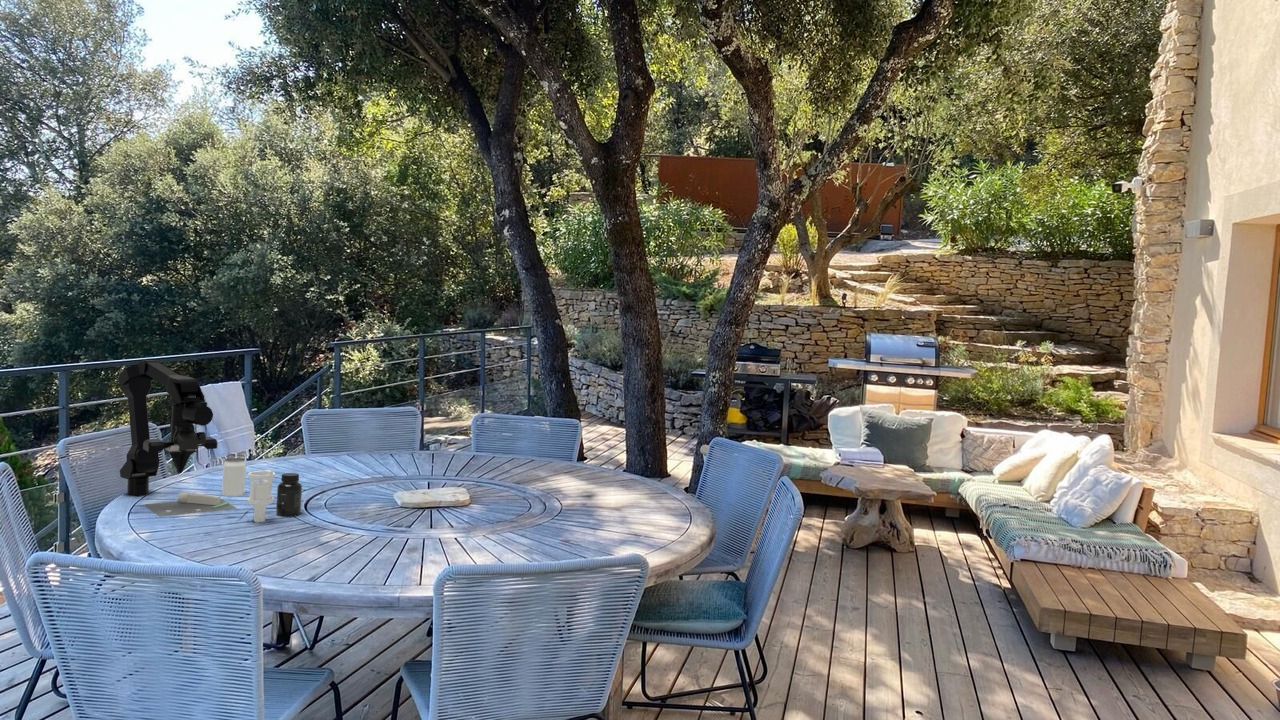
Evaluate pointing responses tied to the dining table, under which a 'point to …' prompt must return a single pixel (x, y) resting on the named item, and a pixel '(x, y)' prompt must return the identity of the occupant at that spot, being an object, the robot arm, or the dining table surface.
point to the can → (234, 477)
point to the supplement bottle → (289, 495)
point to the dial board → (185, 508)
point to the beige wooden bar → (198, 499)
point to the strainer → (260, 492)
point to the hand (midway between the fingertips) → (179, 473)
